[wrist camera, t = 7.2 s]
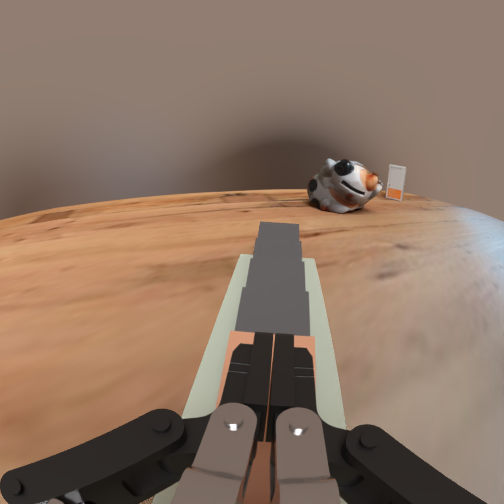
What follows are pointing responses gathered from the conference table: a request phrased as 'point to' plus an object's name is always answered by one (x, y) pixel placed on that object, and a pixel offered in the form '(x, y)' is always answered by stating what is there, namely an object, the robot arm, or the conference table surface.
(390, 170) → the skincare box
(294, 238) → the domino
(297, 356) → the robot arm
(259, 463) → the domino
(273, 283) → the domino
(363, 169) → the lucky cat figurine
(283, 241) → the domino
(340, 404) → the strip
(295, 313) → the domino
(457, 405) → the conference table surface
